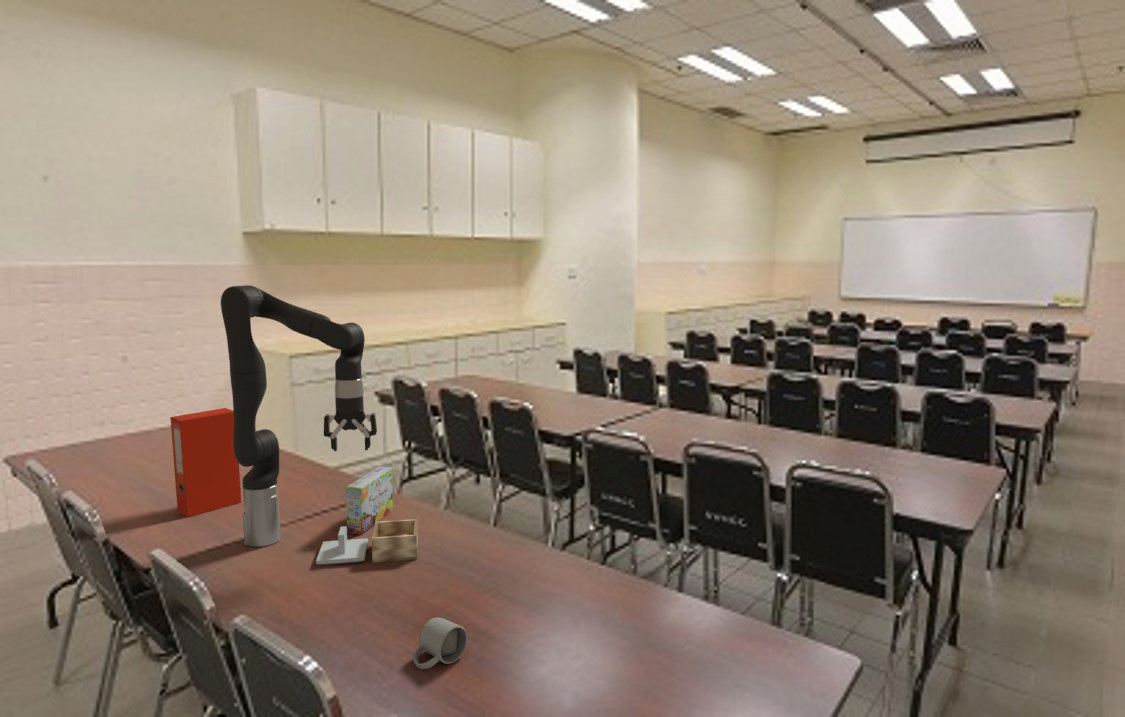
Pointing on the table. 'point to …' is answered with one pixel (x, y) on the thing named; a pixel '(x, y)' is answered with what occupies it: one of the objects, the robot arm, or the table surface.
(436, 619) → the ceramic mug
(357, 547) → the lid
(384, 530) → the box
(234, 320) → the robot arm
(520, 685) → the table surface
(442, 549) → the table surface
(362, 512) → the snack box
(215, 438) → the file binder
